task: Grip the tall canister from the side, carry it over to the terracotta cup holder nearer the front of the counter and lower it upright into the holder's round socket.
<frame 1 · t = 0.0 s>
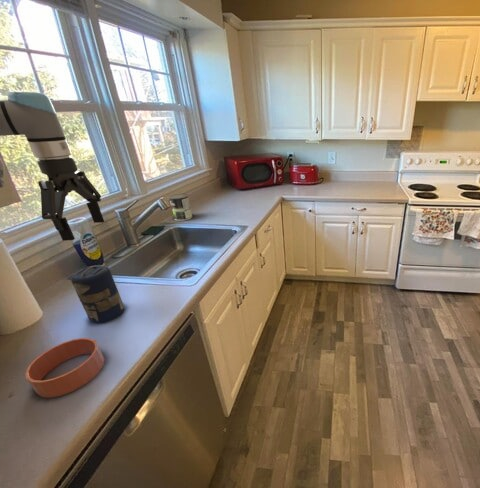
hand: (85, 230, 84), 28 cm above the countertop, tool pointing down, fingers open, 13 cm apart
coffee can: (183, 218, 174), on the countertop
cup holder: (73, 375, 71), on the countertop
canister: (108, 316, 92), on the countertop
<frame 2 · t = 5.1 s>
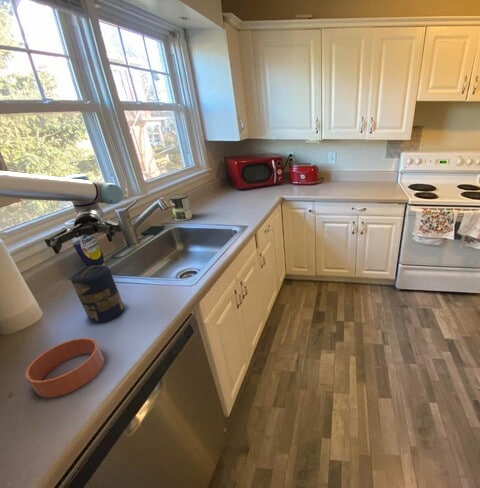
hand: (83, 243, 88), 23 cm above the countertop, tool horizontal, fingers open, 13 cm apart
nothing on the countertop moved.
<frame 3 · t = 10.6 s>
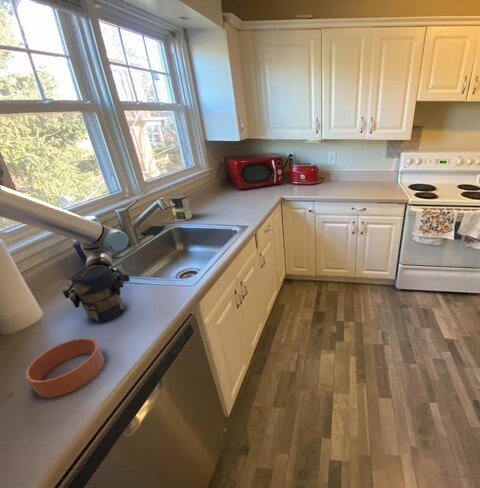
hand: (97, 297, 84), 10 cm above the countertop, tool horizontal, fingers closed on canister, 9 cm apart
canister: (108, 316, 92), on the countertop, touching gripper
everything else where it was.
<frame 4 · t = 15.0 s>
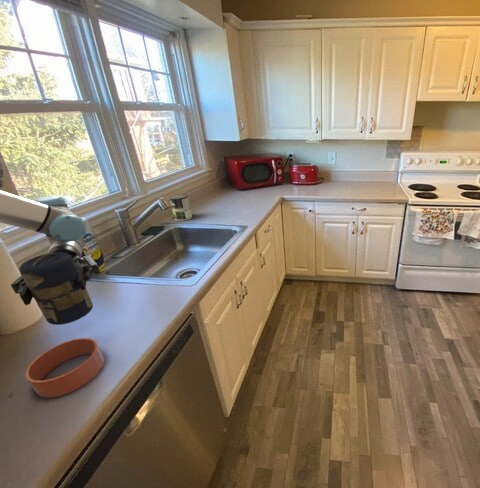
hand: (54, 292, 67), 22 cm above the countertop, tool horizontal, fingers closed on canister, 9 cm apart
canister: (72, 315, 74), point 12 cm above the countertop, touching gripper
everything else where it was.
when the fingers open (11 cm above the countertop, at t = 19.9 s): canister stays where it is, resting on cup holder.
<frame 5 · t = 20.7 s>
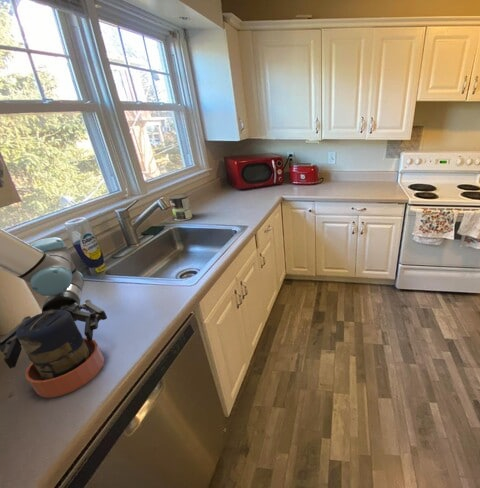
hand: (50, 349, 64), 12 cm above the countertop, tool horizontal, fingers open, 13 cm apart
canister: (72, 373, 71), point 1 cm above the countertop, touching cup holder
everything else where it was.
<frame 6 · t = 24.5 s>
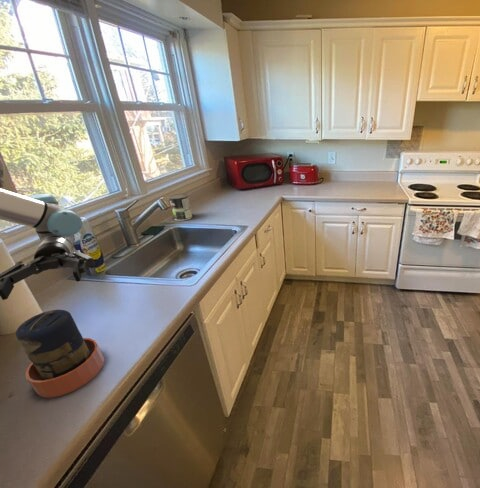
hand: (41, 285, 69), 22 cm above the countertop, tool horizontal, fingers open, 13 cm apart
nothing on the countertop moved.
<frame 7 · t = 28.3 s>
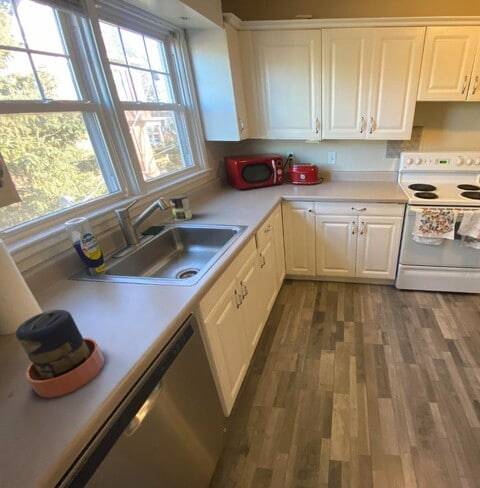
nothing on the countertop moved.
at the end: canister 0.1 cm off-centre in the cup holder, point 0.6 cm above the cup holder's base; canister tilted 0°; the gripper is holding nothing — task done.
